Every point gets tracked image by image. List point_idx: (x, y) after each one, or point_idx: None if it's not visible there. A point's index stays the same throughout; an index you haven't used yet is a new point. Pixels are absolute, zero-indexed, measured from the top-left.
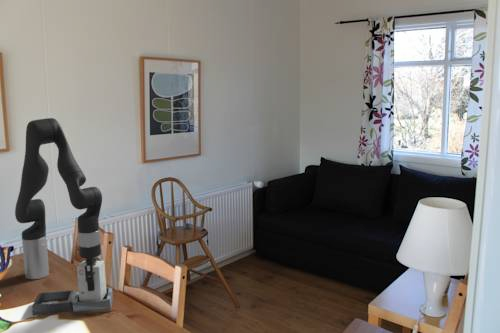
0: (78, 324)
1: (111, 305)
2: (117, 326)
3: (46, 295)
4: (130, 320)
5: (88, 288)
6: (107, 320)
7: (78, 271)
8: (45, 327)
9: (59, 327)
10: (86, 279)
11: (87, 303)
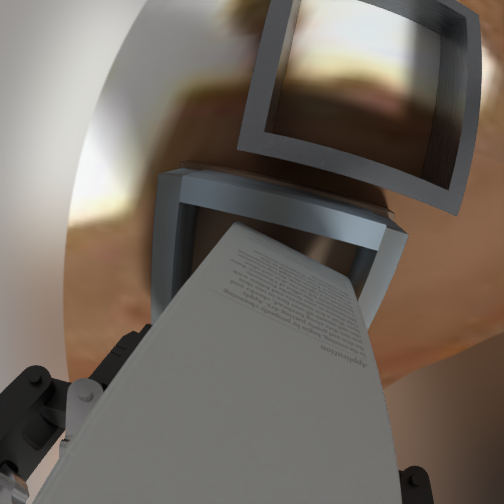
0: (98, 189)
1: None
2: (71, 313)
3: (460, 43)
4: (100, 353)
5: (137, 339)
6: (106, 300)
7: (72, 452)
8: (127, 46)
9: (101, 107)
10: (18, 382)
11: (154, 266)
